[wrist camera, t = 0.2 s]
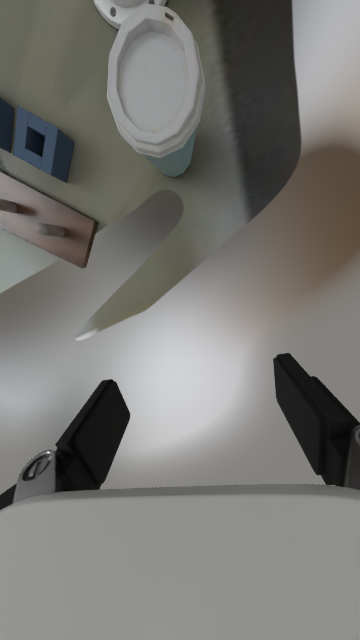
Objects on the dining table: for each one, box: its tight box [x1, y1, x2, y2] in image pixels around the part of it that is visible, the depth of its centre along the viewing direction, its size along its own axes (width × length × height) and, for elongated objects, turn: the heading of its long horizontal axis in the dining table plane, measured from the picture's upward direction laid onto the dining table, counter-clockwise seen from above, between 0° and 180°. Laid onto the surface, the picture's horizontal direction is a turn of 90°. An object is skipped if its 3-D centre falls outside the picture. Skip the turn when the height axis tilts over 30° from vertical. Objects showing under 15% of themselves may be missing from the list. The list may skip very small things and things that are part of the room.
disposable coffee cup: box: [107, 3, 206, 177], centre depth 24 cm, size 11×11×15 cm
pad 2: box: [13, 106, 74, 182], centre depth 31 cm, size 7×7×4 cm
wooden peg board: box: [0, 171, 98, 268], centre depth 34 cm, size 10×22×7 cm, turn 64°
